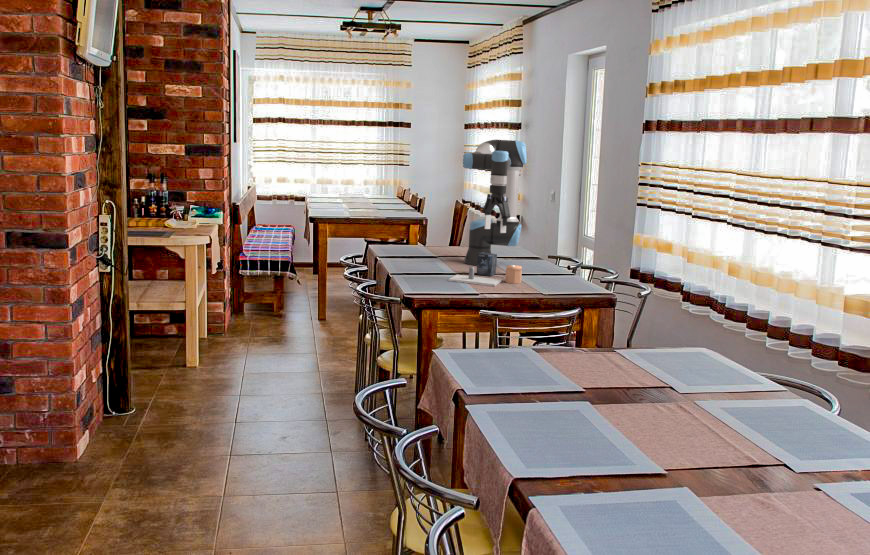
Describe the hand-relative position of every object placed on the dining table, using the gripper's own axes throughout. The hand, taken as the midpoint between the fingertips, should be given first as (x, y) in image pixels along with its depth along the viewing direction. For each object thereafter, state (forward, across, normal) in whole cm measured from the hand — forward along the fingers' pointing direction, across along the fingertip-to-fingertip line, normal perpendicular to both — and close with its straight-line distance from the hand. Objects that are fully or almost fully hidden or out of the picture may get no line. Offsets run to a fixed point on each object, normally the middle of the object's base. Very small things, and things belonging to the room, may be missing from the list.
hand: (495, 230), depth 391 cm
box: (+24, -16, +7) cm, 30 cm away
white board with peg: (+24, -2, -7) cm, 25 cm away
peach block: (+24, +3, +10) cm, 26 cm away
